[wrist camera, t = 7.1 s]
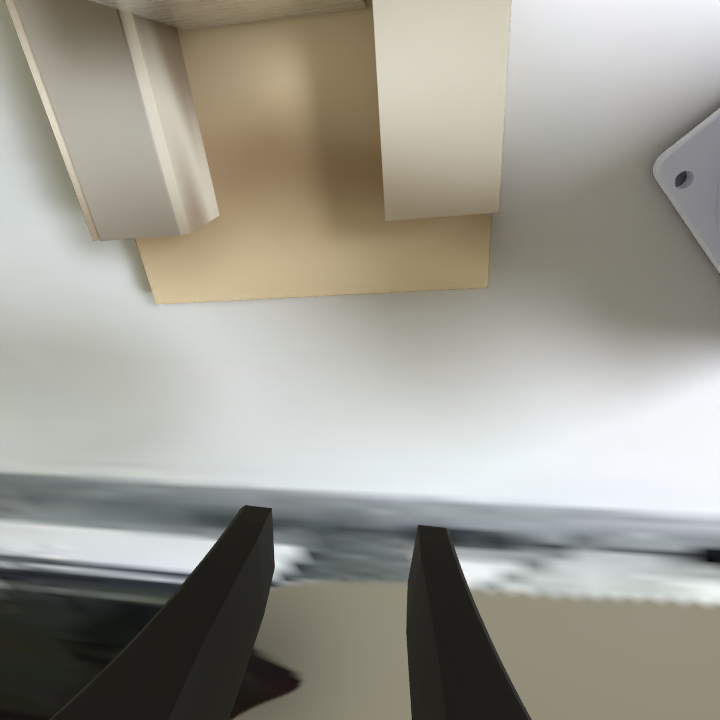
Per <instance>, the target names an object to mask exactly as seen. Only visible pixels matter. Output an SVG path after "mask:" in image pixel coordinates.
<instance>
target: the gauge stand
mask: <svg viewBox="0 0 720 720" xmlns="http://www.w3.org/2000/svg"><path fill="white" fill-rule="evenodd" d="M5 2H6V5H7V7H8V10H9V13H10V16H11V18H12V21H13V24H14V26H15V29H16V32H17V35H18V37H19V40H20V43H21V45H22V48H23V51H24V54H25V56H26V59H27V62H28V64H29V67H30V70H31V73H32V75H33V78H34V81H35V84H36V86H37V89H38V92H39V94H40V97H41V100H42V103H43V105H44V108H45V111H46V113H47V116H48V119H49V122H50V124H51V127H52V130H53V132H54V135H55V138H56V141H57V143H58V146H59V149H60V151H61V154H62V157H63V160H64V162H65V165H66V168H67V170H68V173H69V176H70V179H71V181H72V184H73V187H74V189H75V192H76V195H77V198H78V200H79V203H80V206H81V208H82V211H83V214H84V217H85V219H86V222H87V225H88V227H89V230H90V233H91V236H92V238H93V241H94V240H101V241H106V240H120V239H135V240H136V243H137V247H138V250H139V253H140V256H141V259H142V262H143V265H144V268H145V271H146V274H147V277H148V281H149V284H150V287H151V290H152V293H153V296H154V299H155V302H156V304H171V303H191V302H211V301H231V300H251V299H271V298H291V297H311V296H331V295H351V294H371V293H391V292H412V291H432V290H452V289H472V288H488V272H489V252H490V232H491V213H499V206H500V188H501V171H502V154H503V136H504V119H505V102H506V84H507V67H508V50H509V32H510V15H511V0H366V8H362V9H354V10H346V11H338V12H330V13H322V14H314V15H306V16H298V17H290V18H282V19H274V20H266V21H258V22H250V23H242V24H234V25H226V26H218V27H209V28H201V29H193V30H183V29H180V28H177V27H174V26H171V25H167V24H164V23H161V22H158V21H154V20H151V19H148V18H145V17H142V16H138V15H135V14H132V13H129V12H125V11H122V10H119V9H116V8H113V7H109V6H106V5H103V4H100V3H96V2H93V1H90V0H5Z"/></svg>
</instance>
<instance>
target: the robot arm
mask: <svg viewBox="0 0 720 720" xmlns="http://www.w3.org/2000/svg"><path fill="white" fill-rule="evenodd" d="M684 171H686V173H687V178H686V181H685V182H684V183H683V184H682V185H680V186H678V187H676V186H675V179H676V177H677V176H678V175H679V174H680V173H681V172H684ZM653 175H654V177H655V179H656V181H657V182H658V184H659V185H660V187H661V188H662V190H663V191H664V192H665V194H666V195H667V197H668V198H669V200H670V201H671V203H672V204H673V206H674V207H675V209H676V210H677V212H678V213H679V215H680V216H681V218H682V219H683V221H684V222H685V223H686V225H687V226H688V228H689V229H690V231H691V232H692V234H693V235H694V237H695V238H696V240H697V241H698V243H699V244H700V246H701V247H702V249H703V250H704V251H705V253H706V254H707V256H708V257H709V259H710V260H711V262H712V263H713V265H714V266H715V268H716V269H717V271H718V272H719V274H720V108H719V109H718V110H716V111H715V112H714V113H712V114H711V115H710V116H709V117H707V118H706V119H705V120H704V121H702V122H701V123H700V124H699V125H697V126H696V127H695V128H694V129H692V130H691V131H690V132H688V133H687V134H686V135H685V136H683V137H682V138H681V139H680V140H678V141H677V142H676V143H675V144H673V145H672V146H671V147H669V148H668V149H667V150H666V151H664V152H663V153H662V154H661V155H660V156H659V157H658V158H657V159H656V161H655V163H654V166H653ZM274 568H275V563H274V543H273V522H272V508H264V507H256V506H247V505H245V506H244V507H242V508H241V509H240V510H239V512H238V513H237V514H236V516H235V517H234V519H233V520H232V522H231V523H230V524H229V526H228V527H227V528H226V530H225V531H224V533H223V534H222V535H221V537H220V538H219V539H218V541H217V542H216V543H215V544H214V546H213V547H212V548H211V550H210V551H209V552H208V553H207V555H206V556H205V557H204V559H203V560H202V561H201V562H200V563H199V565H198V566H197V567H196V568H195V569H194V571H193V572H192V573H191V574H190V576H189V577H188V578H187V579H186V580H185V582H184V583H183V584H182V585H181V586H180V588H179V589H178V590H177V591H176V592H175V593H174V595H173V596H172V597H171V598H170V599H169V600H168V601H167V602H166V604H165V605H164V606H163V607H162V608H161V609H160V610H159V611H158V612H157V614H156V615H155V616H154V617H153V618H152V619H151V620H150V621H149V622H148V623H147V625H146V626H145V627H144V628H143V629H142V630H141V631H140V632H139V633H138V634H137V635H136V636H135V637H134V639H133V640H132V641H131V642H130V643H129V644H128V645H127V646H126V647H125V648H124V649H123V650H122V651H121V652H120V653H119V654H118V655H117V656H116V657H115V658H114V659H113V660H112V661H111V662H110V663H109V664H108V665H107V666H106V667H105V668H104V669H103V670H102V671H101V672H100V673H99V674H98V675H97V676H96V677H95V678H94V679H93V680H92V681H90V682H89V683H88V684H87V685H86V686H85V687H84V688H83V689H82V690H81V691H80V692H79V693H78V694H77V695H75V696H74V697H73V698H72V699H71V700H70V701H69V702H68V703H67V704H66V705H65V706H63V707H62V708H61V709H60V710H59V711H58V712H57V713H56V714H55V715H54V716H53V717H52V718H50V719H49V720H229V718H230V715H231V712H232V709H233V706H234V703H235V700H236V697H237V694H238V691H239V688H240V685H241V682H242V679H243V676H244V673H245V670H246V667H247V664H248V661H249V658H250V655H251V652H252V649H253V646H254V643H255V640H256V637H257V634H258V631H259V628H260V625H261V622H262V619H263V616H264V612H265V607H266V604H267V599H268V595H269V591H270V586H271V582H272V577H273V573H274ZM406 634H407V650H408V666H409V682H410V696H411V713H412V720H531V718H530V716H529V714H528V712H527V711H526V708H525V707H524V705H523V703H522V701H521V699H520V697H519V695H518V693H517V691H516V689H515V688H514V686H513V684H512V682H511V680H510V678H509V676H508V674H507V672H506V670H505V668H504V666H503V664H502V662H501V660H500V658H499V655H498V653H497V651H496V649H495V647H494V645H493V643H492V641H491V639H490V636H489V634H488V632H487V630H486V627H485V625H484V623H483V620H482V618H481V616H480V614H479V611H478V609H477V607H476V605H475V602H474V600H473V597H472V595H471V592H470V590H469V587H468V585H467V582H466V579H465V577H464V574H463V571H462V569H461V566H460V563H459V560H458V557H457V554H456V551H455V548H454V545H453V542H452V538H451V534H450V532H449V531H448V530H447V529H446V528H441V527H432V526H423V525H418V529H417V534H416V540H415V545H414V551H413V557H412V562H411V568H410V573H409V579H408V592H407V629H406Z"/></svg>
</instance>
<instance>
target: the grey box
mask: <svg viewBox="0 0 720 720" xmlns="http://www.w3.org/2000/svg"><path fill="white" fill-rule="evenodd" d="M90 1H93V2H96V3H100V4H103V5H106V6H109V7H113V8H116V9H119V10H122V11H125V12H129V13H132V14H135V15H138V16H142V17H145V18H148V19H151V20H154V21H158V22H161V23H164V24H167V25H171V26H174V27H177V28H180V29H183V30H193V29H201V28H209V27H218V26H226V25H234V24H242V23H250V22H258V21H266V20H274V19H282V18H290V17H298V16H306V15H314V14H322V13H330V12H338V11H346V10H354V9H362V8H366V0H90Z"/></svg>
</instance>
